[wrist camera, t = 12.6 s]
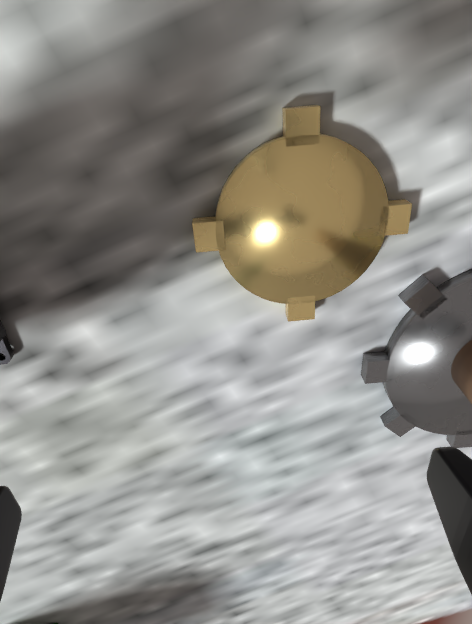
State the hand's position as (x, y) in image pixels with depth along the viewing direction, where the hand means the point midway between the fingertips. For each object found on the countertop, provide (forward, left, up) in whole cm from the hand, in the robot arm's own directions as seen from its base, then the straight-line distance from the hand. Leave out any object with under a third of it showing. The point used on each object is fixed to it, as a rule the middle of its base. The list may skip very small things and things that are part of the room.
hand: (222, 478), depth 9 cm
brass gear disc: (+4, +1, -13) cm, 14 cm away
